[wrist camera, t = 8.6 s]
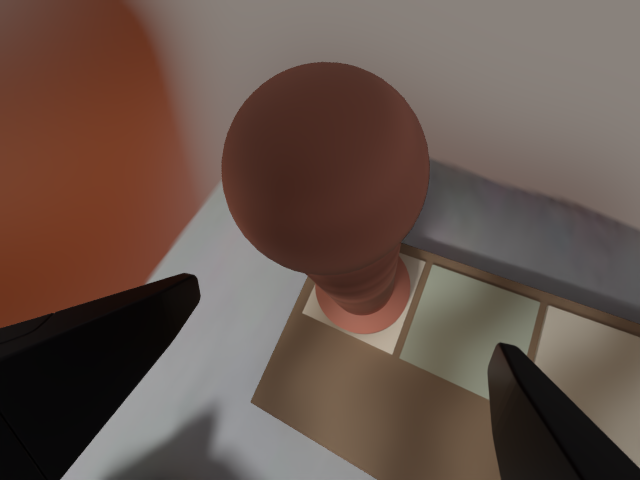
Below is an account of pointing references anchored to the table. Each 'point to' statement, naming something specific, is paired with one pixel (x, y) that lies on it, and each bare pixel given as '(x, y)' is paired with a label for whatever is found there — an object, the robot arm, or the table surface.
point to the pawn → (331, 185)
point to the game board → (445, 372)
